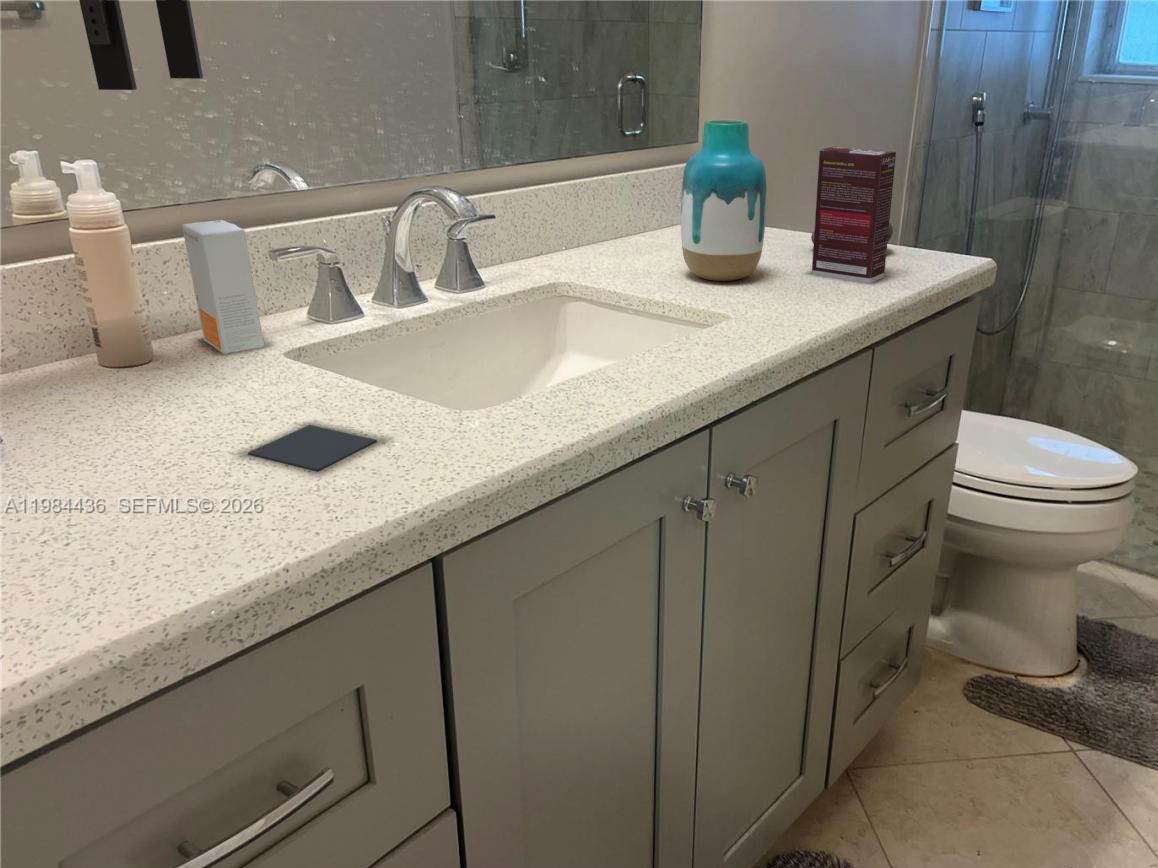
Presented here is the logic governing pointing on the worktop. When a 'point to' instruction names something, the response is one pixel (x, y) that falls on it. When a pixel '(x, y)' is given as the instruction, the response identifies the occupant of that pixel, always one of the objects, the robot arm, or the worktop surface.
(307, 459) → the mat
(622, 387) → the worktop surface
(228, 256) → the cosmetic box
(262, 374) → the worktop surface
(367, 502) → the worktop surface
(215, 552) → the worktop surface
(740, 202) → the vase
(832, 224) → the supplement box
